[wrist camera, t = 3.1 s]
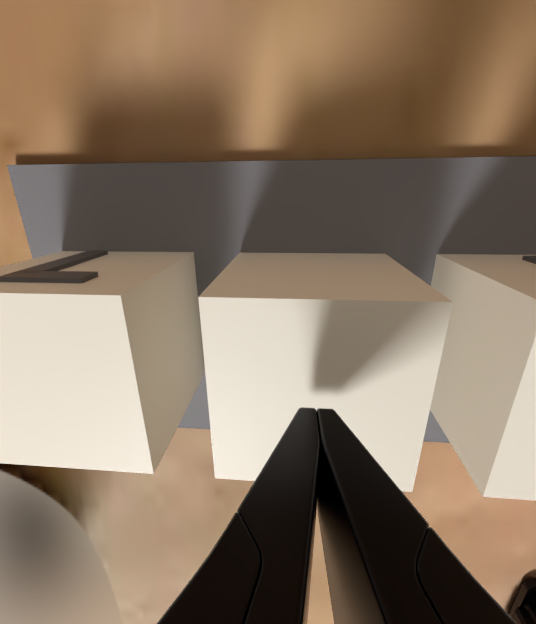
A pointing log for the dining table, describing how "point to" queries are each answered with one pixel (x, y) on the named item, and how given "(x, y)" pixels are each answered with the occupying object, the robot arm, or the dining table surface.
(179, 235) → the tap mat
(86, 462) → the digit block 7
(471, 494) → the dining table surface
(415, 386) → the blank block
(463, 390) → the digit block 1
